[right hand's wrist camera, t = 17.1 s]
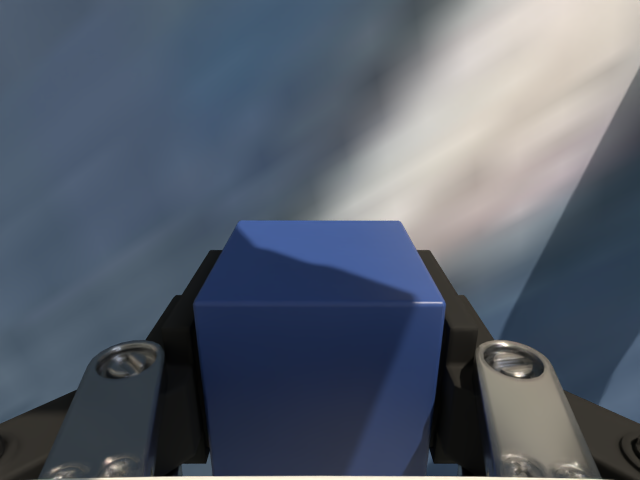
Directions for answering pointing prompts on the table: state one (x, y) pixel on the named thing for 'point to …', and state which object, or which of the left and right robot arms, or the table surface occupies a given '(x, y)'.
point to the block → (319, 350)
